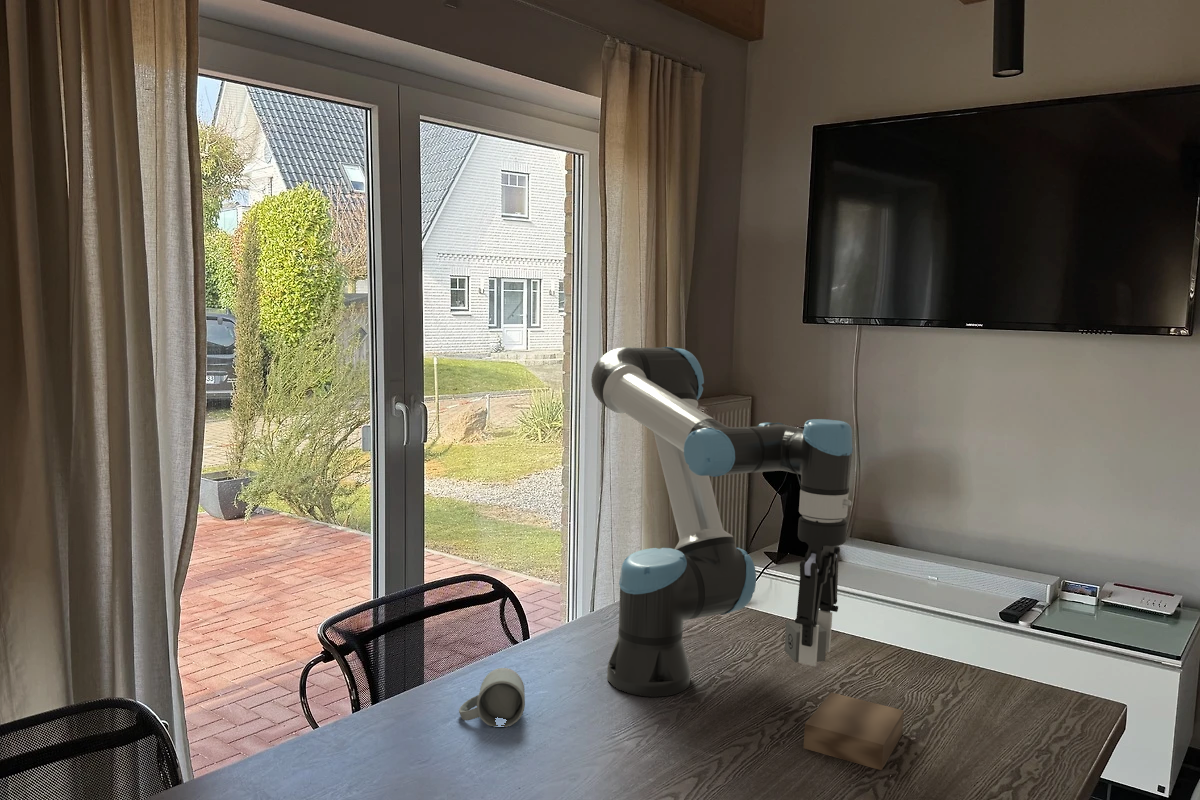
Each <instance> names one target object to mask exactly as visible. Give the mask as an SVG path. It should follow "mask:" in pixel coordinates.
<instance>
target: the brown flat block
mask: <svg viewBox="0 0 1200 800" xmlns="http://www.w3.org/2000/svg"><path fill="white" fill-rule="evenodd" d="M904 718H905V710H903V709H900V708H896V707H892V706H887V705H883V704H880V703H876V702H871V701H868V700H867V701H866V700H863V699H859V698H856V697H852V696H847V695H843V694H840V693H835V692H832V691H831V692H830V693H829V694H828V695H827V697H826V698H825V699H824V700H823V701H822V703H821V704H820V705H819V706H818V707H817V709H816V710H815V711H814V712H813V714H812V715H811V716H809V718H808V719H807V721H806V722H805V723H804V733H803V734H804V735H803V736H804V737H803V749H805V750H807V751H812V752H816V753H818V754H823V755H825V756H830V757H833V758H837V759H840V760H843V761H847V762H851V763H854V764H858V765H861V766H864V767H868V768H871V769H874V770H878V771H882V770H883V769H884V767H885V766H886V764H887V763H888V760H889V758H890V757H891V755H892V753H893V752H894V750H895V749H896V746H897V744H898V743H899V741H900V739H901V738H902V736H903V731H904V720H905V719H904Z"/></svg>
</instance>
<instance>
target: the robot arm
mask: <svg viewBox="0 0 1200 800" xmlns="http://www.w3.org/2000/svg"><path fill="white" fill-rule="evenodd" d="M704 378H705V377H704V373H703V369H702V366H701V364H700V362H699V360H698V359H697V358H696V356H695V355H694V354H693V353H692V352H691V351H688V350H687V349H684V348H680V347H679V348H676V347H672V346H663V347H630V346H629V347H628V346H626V347H625V346H624V347H623V346H622V347H618V348H614V349H611V350H609V351H607V352H605V353H604V354H603V355H602V356H601V357H600V358H599V359H598V360H597V362H596V363H595V365H594V367H593V370H592V373H591V379H590V380H591V388H592V391H593V394H594V396H595V398H596V399H598V401H599V402H600V403H601V404H602V405H603V406H604V407H605V408H608V409H609V410H610V411H612V412H614V413H617V414H626V415H628V416H629V417H631V418H632V419H633V420H635V421H636V422H638V423H640V424H641V425H642V426H645V428H647V429H649V430H650V431H651V432H653V435H654V436H653V437H654V440H655V444H656V449H657V452H658V457H659V461H660V464H661V469H662V474H663V476H664V480H665V486H666V489H667V493H668V494H667V495H668V497H669V501H670V507H671V510H672V514H673V519H674V523H675V525H676V526H675V527H676V531H677V534H678V543H677V544H676V546H675V547H674V548H671V547H661V548H657V547H651V548H645V549H644V548H643V549H641V550H637V551H634V552H633V553H631V554H629V555H628V556H627V557H626V558H625V559H624V561H623V562H622V564H621V570H620V577H619V582H618V585H619V604H618V605H619V608H618V609H619V611H618V631H617V633H618V636H617V639H616V642H615V645H614V648H613V650H612V652H611V655H610V658H609V661H608V663H607V668H606V669H607V671H606V674H607V675H606V679H608V680H607V681H609V682H610V683H611V684H612V685H613V686H614V687H613V686H612V685H611V684H610V683H609V682H608V683H609V684H610V685H611V686H612V687H613V688H615V687H616V688H615V689H617V688H618V689H617V690H618V691H621V690H622V691H621V692H623V691H624V693H626V692H627V693H626V694H629V695H633V696H640V697H642V696H643V697H653V698H654V697H666V696H668V697H669V696H673V695H676V694H678V693H682V692H684V691H685V690H687V689H688V687H690V685H691V668H690V663H689V660H688V656H687V652H686V649H685V646H684V642H683V632H684V631H683V629H684V628H683V627H684V621H689V620H693V619H694V620H695V619H699V618H705V617H712V616H717V615H727V614H730V613H733V612H737V611H740V610H742V609H744V608H745V607H747V606H748V605H749V603H750V602H751V600H752V598H753V595H754V593H755V590H756V584H757V573H756V566H755V563H754V561H753V559H752V557H751V555H750V554H748V552H747V551H746V550H744V549H742V548H740V547H737V546H736V545H737V544H736V543H735V539H734V535H733V534H731V533H729V532H727V531H726V530H725V529H724V527H723V523H722V520H721V516H720V513H719V509H718V508H719V507H718V505H717V501H716V497H715V493H714V488H713V486H712V482H711V478H710V477H714V478H715V477H721V476H725V475H728V476H729V475H738V474H748V473H749V474H750V473H752V474H753V473H764V472H765V473H767V472H775V471H776V472H777V471H778V472H779V471H783V472H789V473H792V474H795V475H799V476H800V490H799V504H798V505H799V506H798V512H799V514H800V515H801V516H799V518H798V524H797V525H798V526H797V537H798V540H799V541H801V543H802V542H803V543H806V544H807V545H808V548H807V552H805V554H804V555H805V556H804V560H801V561H800V562H799V582H798V583H799V584H798V585H799V586H798V596H797V597H798V598H797V605H796V606H797V608H796V609H797V610H796V618H795V619H794V621H795V623H798V624H801V627H800V644H799V661H798V662H797V663H799V664H802V665H806V666H811V667H817V666H818V665H817V664H818V662H817V648H818V632H819V625H820V626H822V627H823V628H824V629H825V630H826V631H827V635H826V653H829V652H831V642H832V626H833V625H832V624H833V623H832V622H833V612H835V613H837V612H838V610H839V605H836V604H837V603H838V584H839V583H838V579H839V577H838V576H839V559H840V558H839V557H840V552H841V547H840V546H842V545H844V544H845V543H846V540H847V529H848V528H847V527H848V522H847V520H846V517H847V516H848V509H849V507H851V506H852V500H850V499H849V493H850V479H851V465H852V458H853V457H852V454H853V450H854V448H853V429H852V425H850V424H849V423H848V422H847V421H843V420H838V419H837V420H834V419H827V418H826V419H825V418H818V419H817V418H813V419H808V420H806V421H805V422H804V425H803V428H801V427H797V426H796V427H795V426H791V425H786V424H784V423H782V422H761V423H759V424H758V425H756V426H739V427H737V426H735V427H733V426H731V427H730V426H727V425H726V424H724V423H722V422H721V421H719V420H716V419H715V418H713V417H712V416H710V415H709V414H707V413H705V412H703V411H701V410H700V409H698V406H699V399H700V398H701V397H702V394H703V391H704V387H703V385H704V384H705V379H704ZM817 623H818V624H819V625H817Z"/></svg>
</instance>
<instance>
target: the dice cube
mask: <svg viewBox="0 0 1200 800" xmlns="http://www.w3.org/2000/svg"><path fill="white" fill-rule="evenodd" d="M817 625H819V624H818V623H817ZM800 627H801V624H798V623H795V620H787V621H785V631H784V652H785V653H786V654H787V655H788V656H789V657H790V659H792V661H793V662H794V663H795V664H797V663H798V661H799V644H800ZM826 635H827V631H826V630H825V629H824V628H823V627H822V626H820V625H819V632H818V648H817V663H818V662H819V663H820V662H821V663H822V662H826V655H827V654H826V653H827V652H826Z"/></svg>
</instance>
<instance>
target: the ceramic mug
mask: <svg viewBox="0 0 1200 800" xmlns="http://www.w3.org/2000/svg"><path fill="white" fill-rule="evenodd" d="M525 695H526V694H525V684H524V681H523V680H522V678H521V676H520V675H519V673H517V672H516V671H515V670H512V669H511V668H507V667H501V668H495V669H493V670H491V671H490V672H489V673H488V674H487V675H486V676H485V677H484V678H483V681H482V682H481V685H480V689H479V693H478V694H477V695H475V696H473V697H471V698H469V699H468V700H466V701H465V702H464V703H463V704H461V706H460V707H459V708H458V709H459V710H458V713H459V715H460V717H461V719H462V720H463V721H471V720H475V719H477V718H480V719H481V721H482V722H483V723H485V724H486V725H487V726H489V727H491V726H498V725H496V722H495V720H496V719H495V718H497V717H498V718H503V719H506V720H507V721H506V723H504V724H505V725H501V726H504V727H506V728H508V727H507V726H509V727H511V726H513V725H515V724H516V723H517V722H518V721H519V720H520V719H521V718H522V716H523V713H524V711H525V706H526V697H525Z"/></svg>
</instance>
